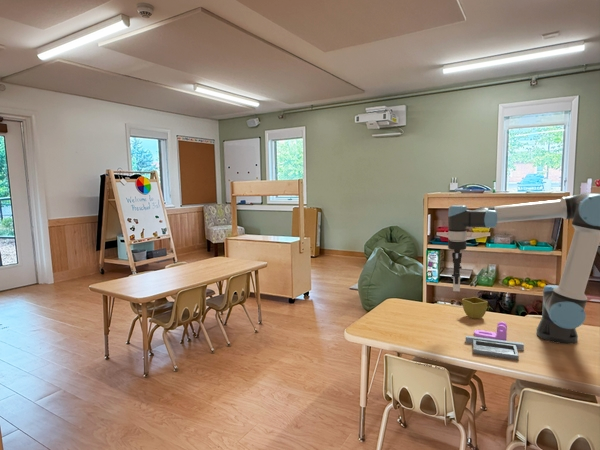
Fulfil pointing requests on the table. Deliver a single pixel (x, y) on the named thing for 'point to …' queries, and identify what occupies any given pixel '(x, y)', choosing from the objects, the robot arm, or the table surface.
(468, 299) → the flower pot
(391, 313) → the table surface
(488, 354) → the shallow rectangular tray
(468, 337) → the door edge
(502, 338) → the bracket
